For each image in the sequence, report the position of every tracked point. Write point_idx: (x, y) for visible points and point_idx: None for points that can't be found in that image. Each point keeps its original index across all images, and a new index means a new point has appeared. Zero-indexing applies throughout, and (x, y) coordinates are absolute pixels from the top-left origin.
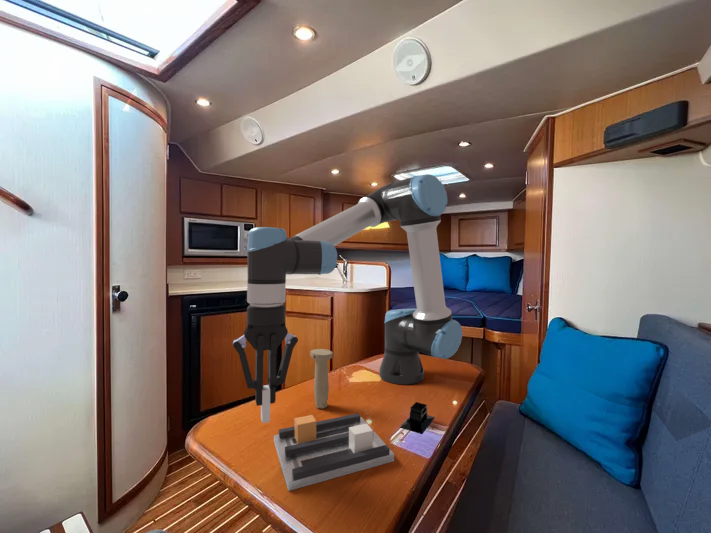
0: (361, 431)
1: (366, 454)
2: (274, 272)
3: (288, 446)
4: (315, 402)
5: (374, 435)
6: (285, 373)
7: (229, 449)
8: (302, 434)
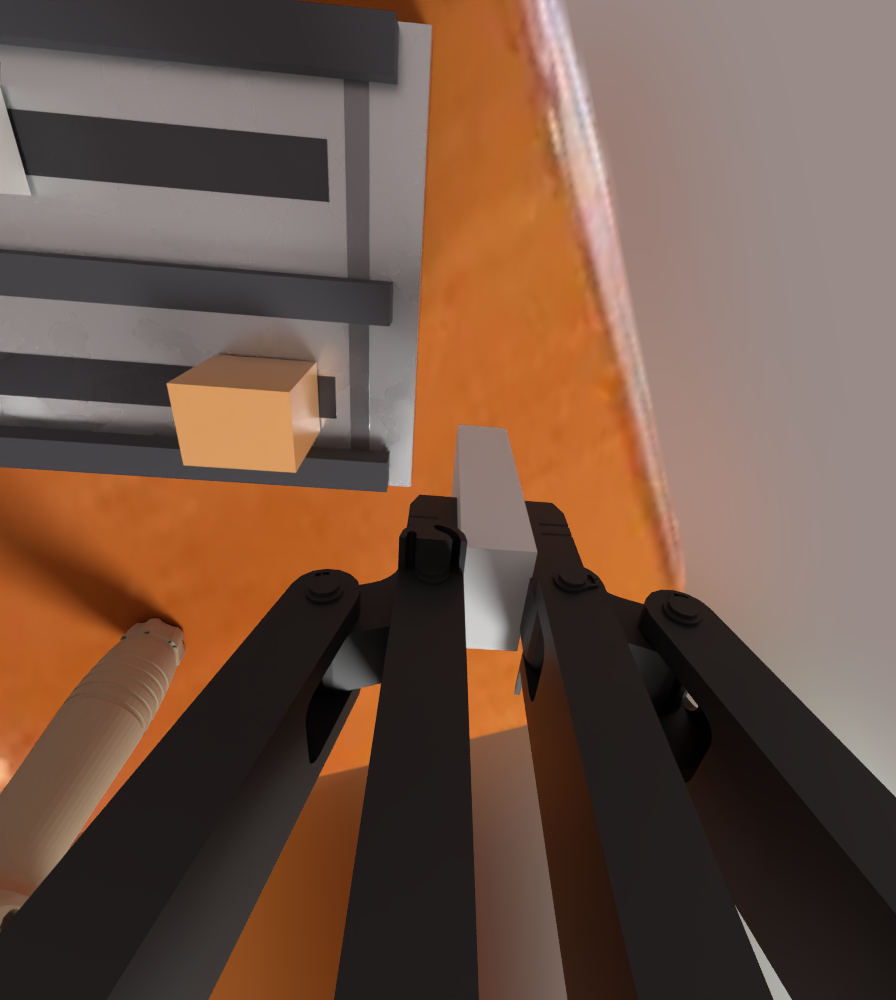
0: None
1: None
2: None
3: (370, 319)
4: (180, 659)
5: None
6: (252, 658)
7: (589, 499)
8: (278, 371)
